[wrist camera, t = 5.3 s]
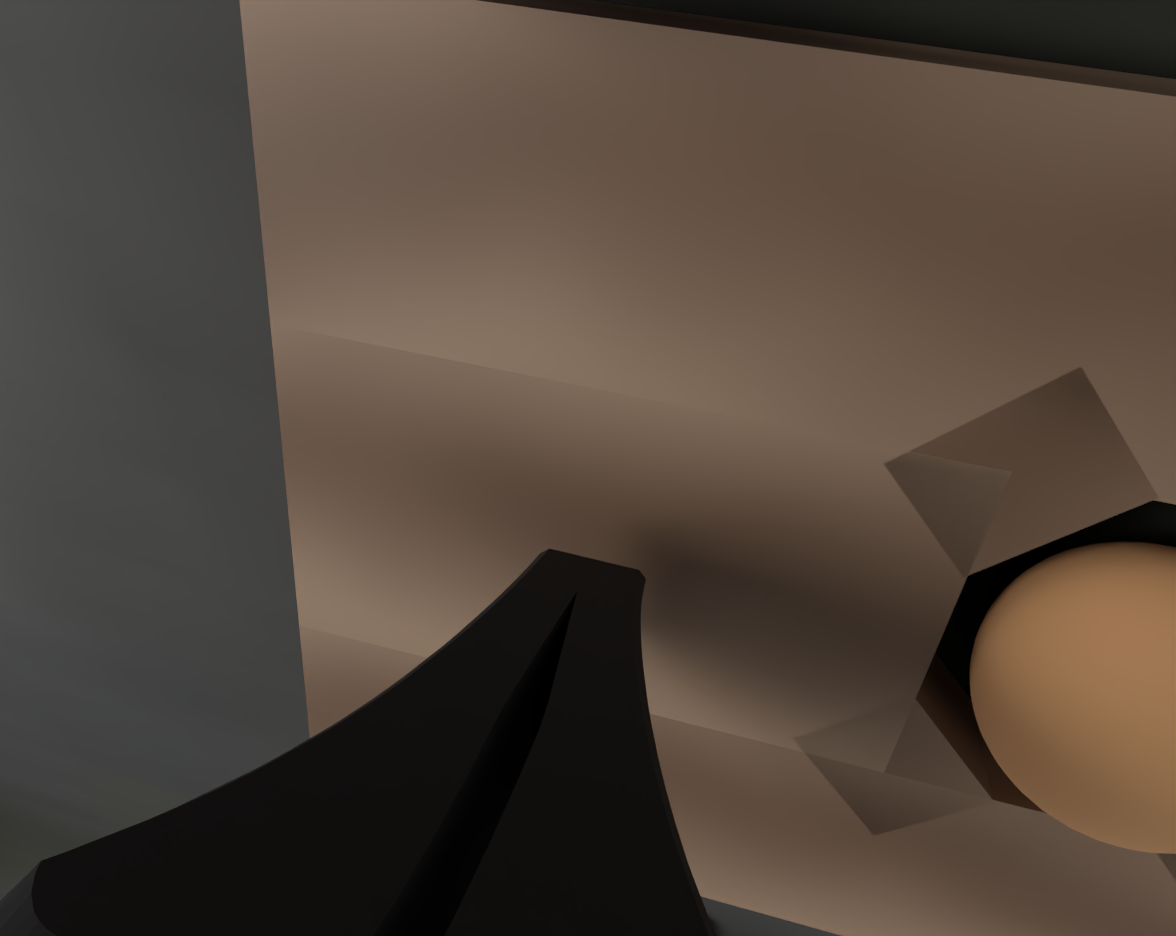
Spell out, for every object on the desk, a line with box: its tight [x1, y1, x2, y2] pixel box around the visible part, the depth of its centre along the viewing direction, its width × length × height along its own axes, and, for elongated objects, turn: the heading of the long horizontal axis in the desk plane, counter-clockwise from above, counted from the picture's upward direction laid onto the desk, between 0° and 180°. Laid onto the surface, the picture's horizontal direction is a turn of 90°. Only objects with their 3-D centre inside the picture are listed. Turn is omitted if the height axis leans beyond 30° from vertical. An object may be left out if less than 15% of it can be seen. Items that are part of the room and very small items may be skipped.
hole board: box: [240, 0, 1176, 936], centre depth 13 cm, size 14×17×2 cm
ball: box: [970, 541, 1176, 854], centre depth 12 cm, size 4×4×4 cm
